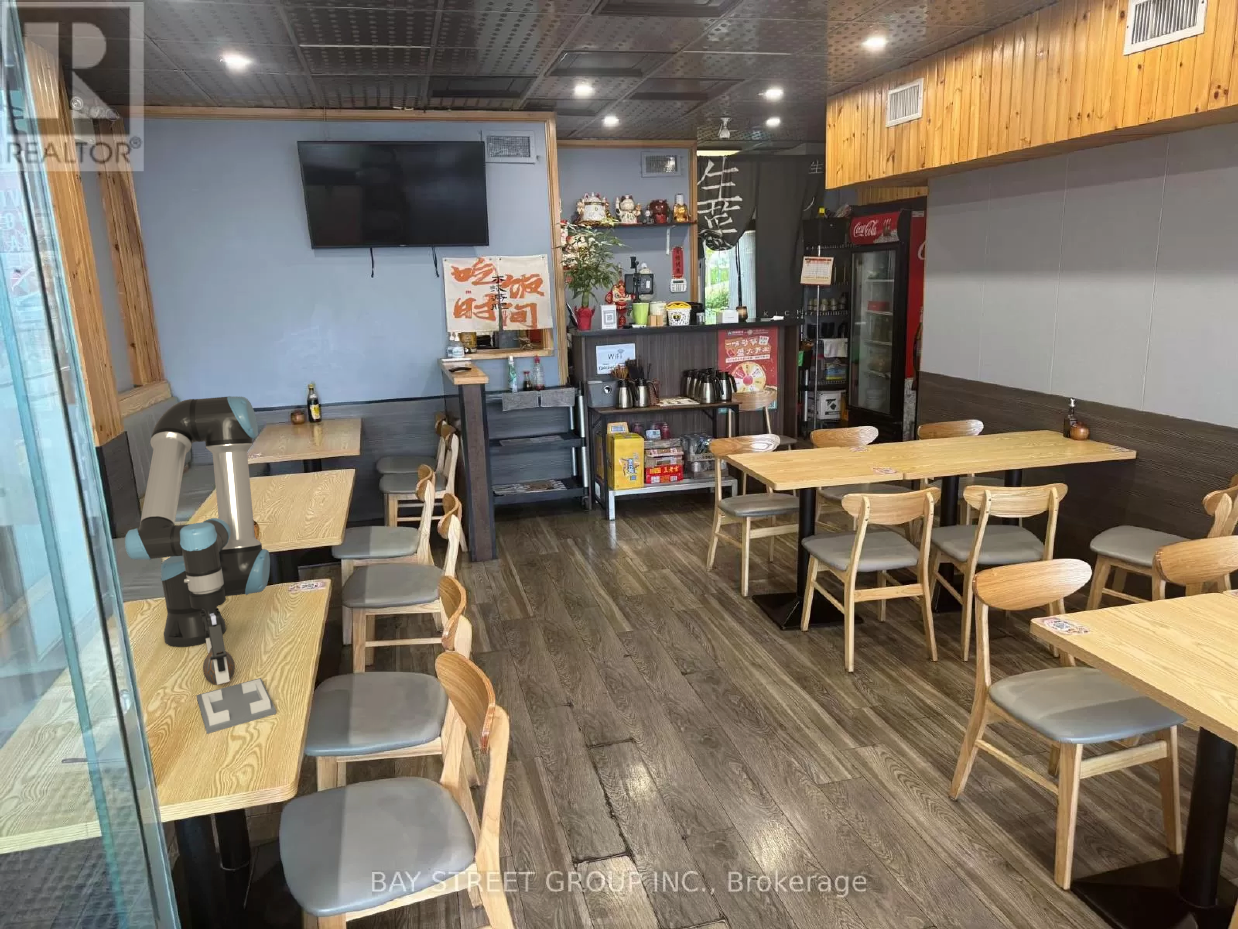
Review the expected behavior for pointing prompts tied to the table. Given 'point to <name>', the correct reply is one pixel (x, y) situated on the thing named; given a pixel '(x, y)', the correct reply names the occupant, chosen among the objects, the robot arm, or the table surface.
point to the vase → (210, 671)
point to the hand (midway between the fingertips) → (219, 672)
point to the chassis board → (235, 705)
